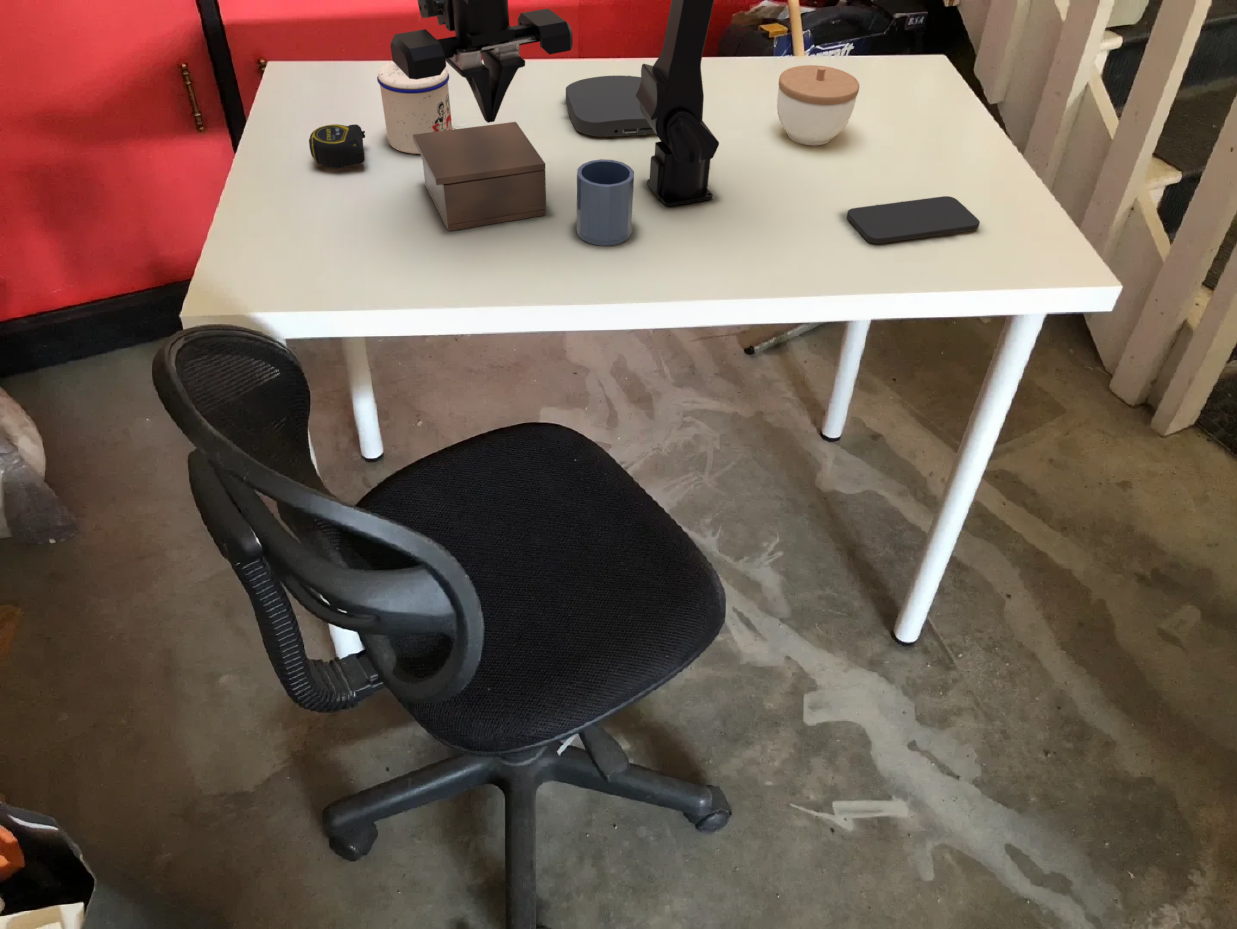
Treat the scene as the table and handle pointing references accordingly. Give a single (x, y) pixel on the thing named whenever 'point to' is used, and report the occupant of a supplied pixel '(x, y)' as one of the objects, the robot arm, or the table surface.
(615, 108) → the media streaming box
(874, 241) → the phone
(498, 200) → the box
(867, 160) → the table surface
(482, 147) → the box lid
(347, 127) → the tape measure
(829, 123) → the trinket box
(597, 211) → the cup
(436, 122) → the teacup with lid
